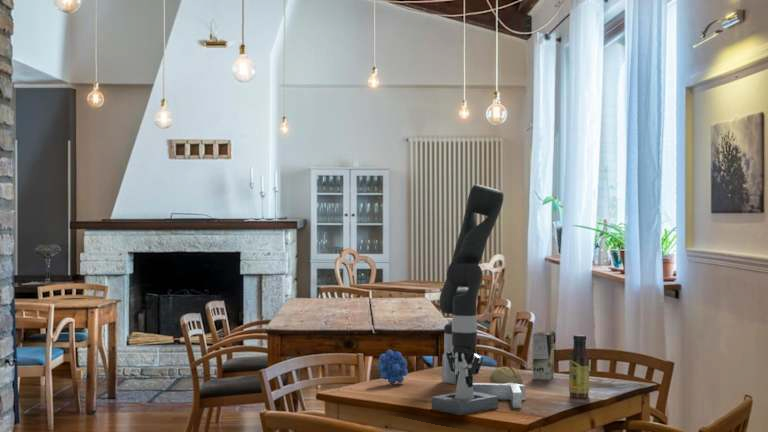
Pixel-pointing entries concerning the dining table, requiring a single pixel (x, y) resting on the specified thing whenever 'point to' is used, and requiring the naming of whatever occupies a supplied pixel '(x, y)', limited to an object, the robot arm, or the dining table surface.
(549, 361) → the coffee box
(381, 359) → the grapes
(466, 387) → the salt shaker
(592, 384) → the dining table surface
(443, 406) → the grey rectangular frame
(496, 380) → the bread roll
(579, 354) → the sauce bottle
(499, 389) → the v block
